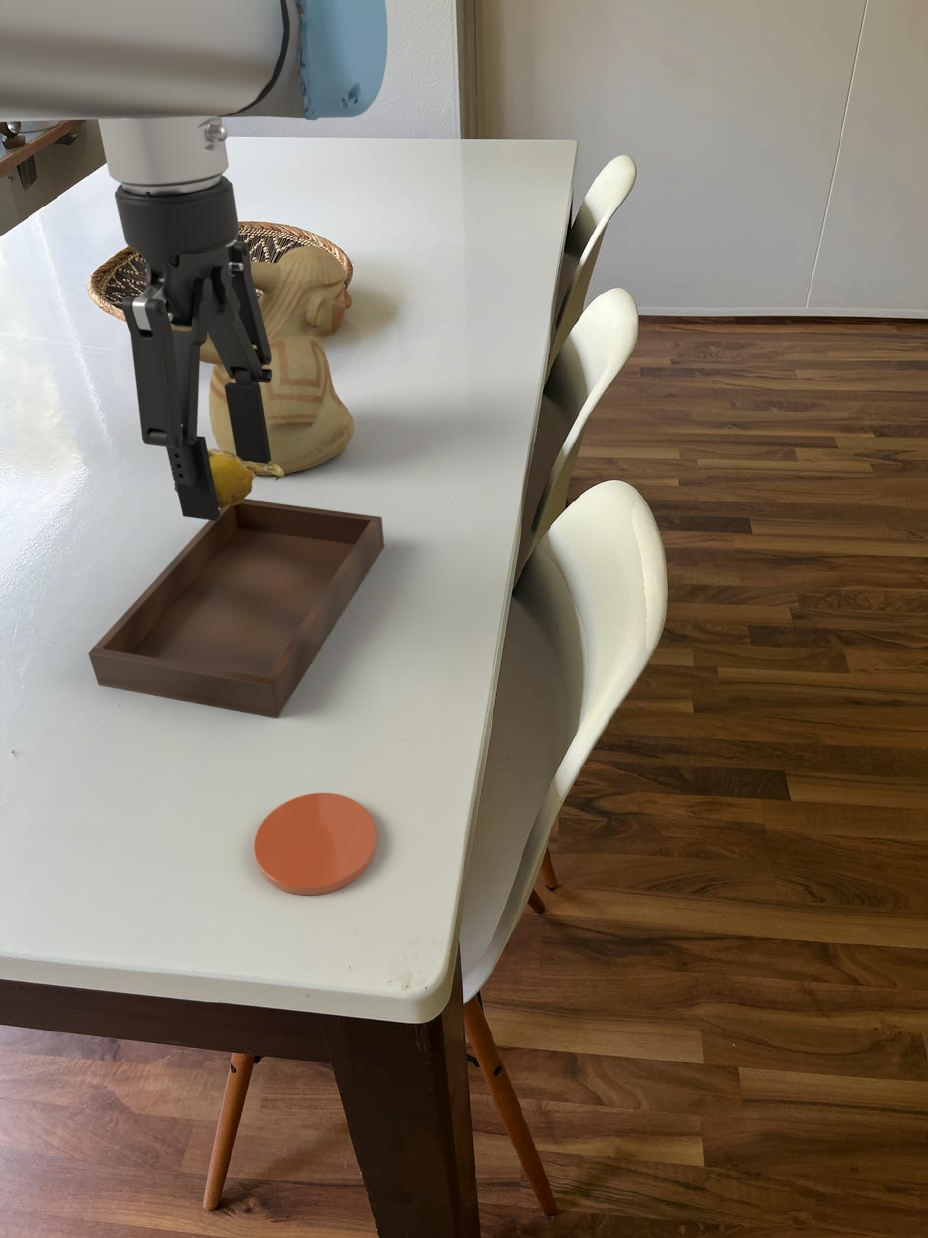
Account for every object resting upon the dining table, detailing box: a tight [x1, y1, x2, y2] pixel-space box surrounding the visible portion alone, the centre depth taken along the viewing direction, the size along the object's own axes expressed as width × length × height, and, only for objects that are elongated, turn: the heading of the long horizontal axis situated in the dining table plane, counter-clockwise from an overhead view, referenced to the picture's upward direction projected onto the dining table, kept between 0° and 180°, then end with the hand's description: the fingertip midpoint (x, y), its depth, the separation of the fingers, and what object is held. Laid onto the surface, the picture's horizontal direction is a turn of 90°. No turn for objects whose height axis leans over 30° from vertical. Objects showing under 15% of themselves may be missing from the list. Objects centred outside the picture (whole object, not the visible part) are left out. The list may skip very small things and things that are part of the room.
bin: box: [87, 498, 385, 719], centre depth 86 cm, size 25×16×3 cm, turn 164°
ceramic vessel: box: [171, 245, 355, 476], centre depth 103 cm, size 17×20×25 cm
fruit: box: [173, 448, 285, 509], centre depth 77 cm, size 8×8×4 cm
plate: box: [253, 792, 378, 896], centre depth 65 cm, size 8×8×1 cm
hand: (229, 486), depth 78 cm, fingers closed on fruit, 8 cm apart
